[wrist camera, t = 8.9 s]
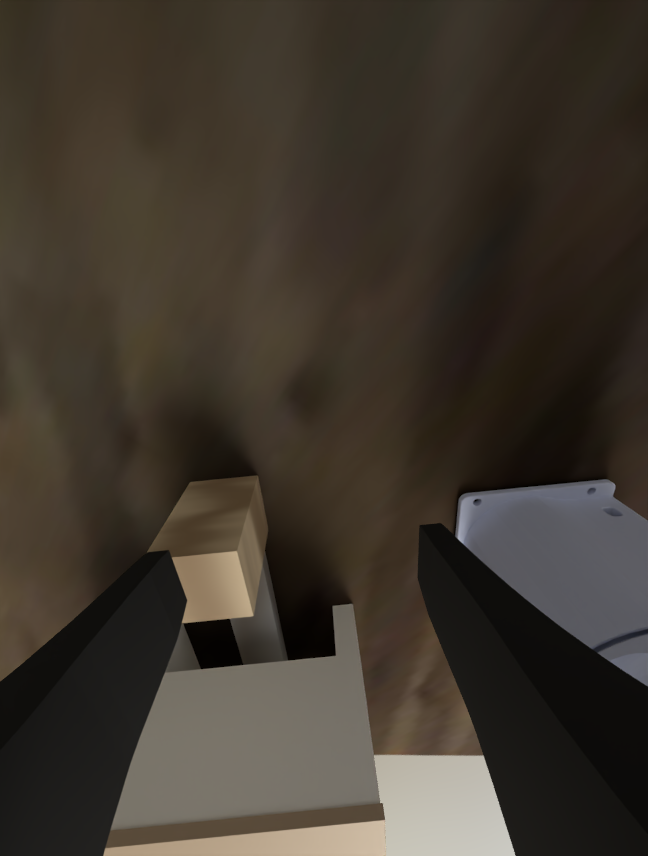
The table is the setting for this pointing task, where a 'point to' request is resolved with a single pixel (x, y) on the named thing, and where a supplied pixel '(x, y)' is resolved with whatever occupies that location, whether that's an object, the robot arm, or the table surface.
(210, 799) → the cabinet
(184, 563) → the wooden and grey bar
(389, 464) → the table surface
